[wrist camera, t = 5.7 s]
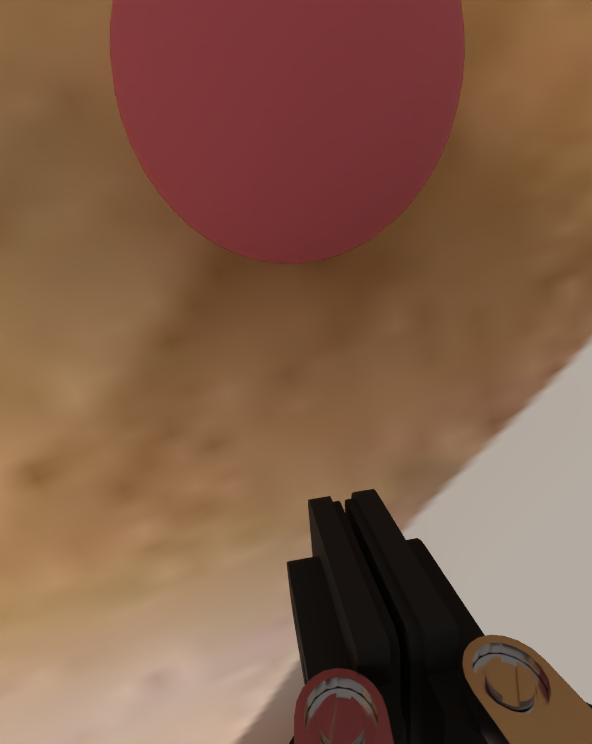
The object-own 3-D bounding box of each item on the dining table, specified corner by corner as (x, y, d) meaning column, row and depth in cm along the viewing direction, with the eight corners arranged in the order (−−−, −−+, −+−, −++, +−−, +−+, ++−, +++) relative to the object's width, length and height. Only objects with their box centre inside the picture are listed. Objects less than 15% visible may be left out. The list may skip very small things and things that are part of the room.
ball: (285, 304, 12) (344, 357, 6) (96, 147, 10) (-84, 1, 4) (427, 130, 11) (649, -2, 5) (252, -75, 9) (297, -631, 3)
